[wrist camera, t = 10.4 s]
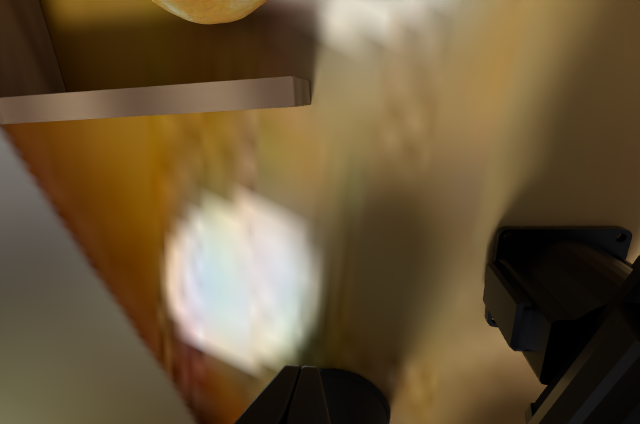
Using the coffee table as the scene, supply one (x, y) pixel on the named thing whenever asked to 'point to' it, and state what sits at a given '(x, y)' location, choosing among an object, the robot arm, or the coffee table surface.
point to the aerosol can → (353, 399)
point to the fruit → (210, 9)
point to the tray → (56, 104)
